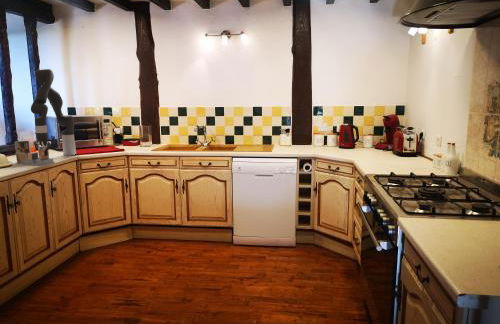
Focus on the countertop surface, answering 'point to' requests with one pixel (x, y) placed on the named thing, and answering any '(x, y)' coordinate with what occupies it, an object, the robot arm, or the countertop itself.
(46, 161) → the grey piece
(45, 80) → the robot arm
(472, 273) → the countertop surface
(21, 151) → the coffee box
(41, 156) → the dark brown block
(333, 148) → the countertop surface
